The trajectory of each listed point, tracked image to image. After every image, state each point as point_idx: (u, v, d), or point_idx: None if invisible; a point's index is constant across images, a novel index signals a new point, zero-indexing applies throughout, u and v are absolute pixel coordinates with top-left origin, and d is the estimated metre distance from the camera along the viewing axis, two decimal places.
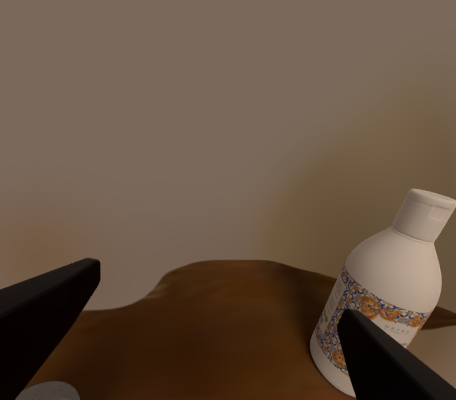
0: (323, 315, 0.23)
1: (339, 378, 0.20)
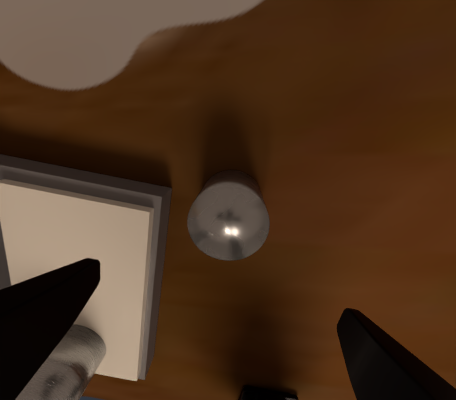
0: None
1: None
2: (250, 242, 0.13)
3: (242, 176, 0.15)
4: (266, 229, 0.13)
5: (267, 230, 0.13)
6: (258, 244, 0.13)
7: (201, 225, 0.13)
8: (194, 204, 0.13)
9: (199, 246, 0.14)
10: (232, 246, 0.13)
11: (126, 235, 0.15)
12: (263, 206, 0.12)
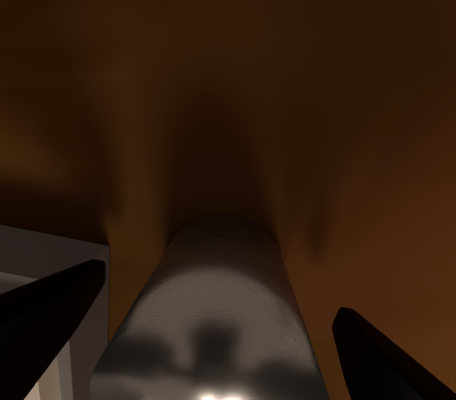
0: None
1: None
2: None
3: (246, 239, 0.07)
4: None
5: None
6: None
7: None
8: (102, 363, 0.04)
9: None
10: None
11: None
12: (315, 376, 0.04)
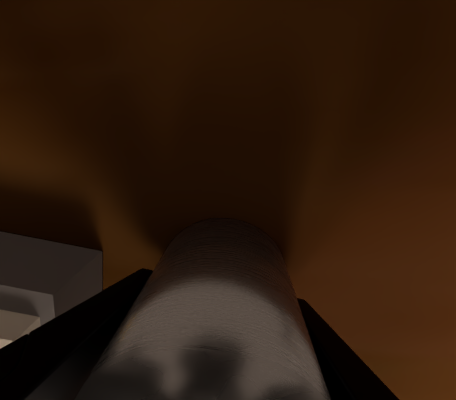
0: None
1: None
2: None
3: (247, 247, 0.06)
4: None
5: None
6: None
7: None
8: (83, 396, 0.04)
9: None
10: None
11: None
12: None
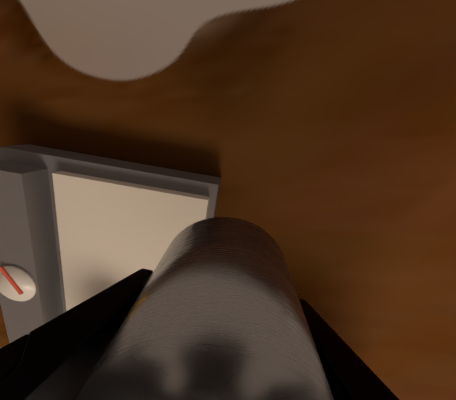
0: None
1: None
2: None
3: (249, 246, 0.06)
4: None
5: None
6: None
7: None
8: (85, 394, 0.04)
9: None
10: None
11: (183, 224, 0.15)
12: None
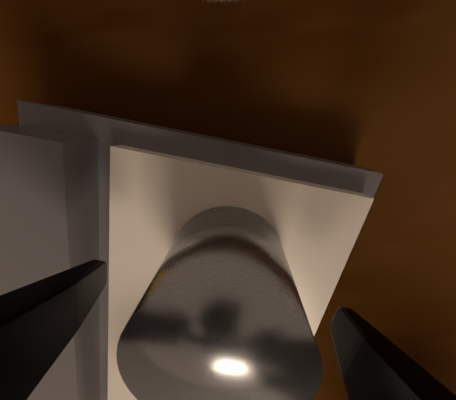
0: None
1: None
2: None
3: (249, 228, 0.07)
4: (312, 384, 0.05)
5: (315, 386, 0.05)
6: None
7: (150, 370, 0.05)
8: (129, 329, 0.05)
9: None
10: None
11: (319, 237, 0.09)
12: (309, 339, 0.05)
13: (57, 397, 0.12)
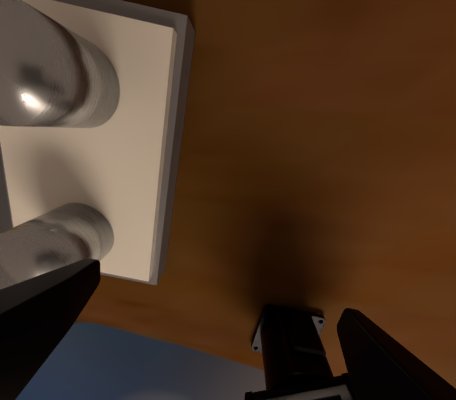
0: None
1: None
2: (32, 89, 0.09)
3: None
4: (48, 63, 0.08)
5: (50, 64, 0.08)
6: (44, 92, 0.09)
7: None
8: None
9: None
10: (8, 99, 0.09)
11: (143, 66, 0.13)
12: (29, 16, 0.08)
13: None
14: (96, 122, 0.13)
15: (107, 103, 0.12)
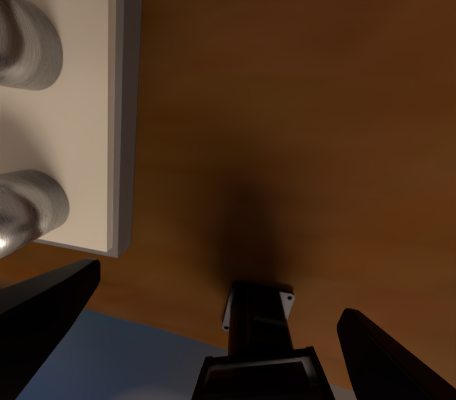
0: None
1: None
2: None
3: None
4: None
5: None
6: None
7: None
8: None
9: None
10: None
11: (82, 24, 0.13)
12: None
13: None
14: (43, 80, 0.13)
15: (48, 57, 0.12)
